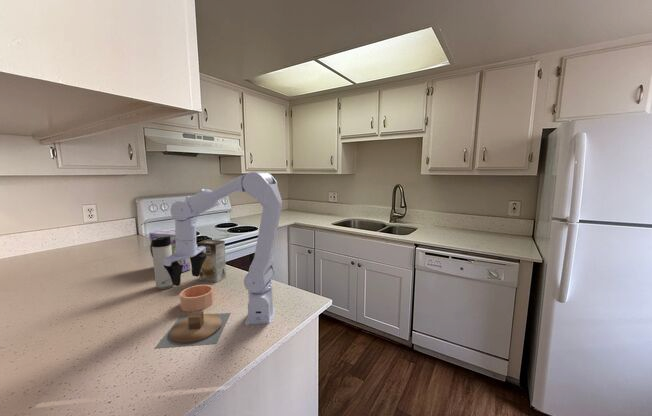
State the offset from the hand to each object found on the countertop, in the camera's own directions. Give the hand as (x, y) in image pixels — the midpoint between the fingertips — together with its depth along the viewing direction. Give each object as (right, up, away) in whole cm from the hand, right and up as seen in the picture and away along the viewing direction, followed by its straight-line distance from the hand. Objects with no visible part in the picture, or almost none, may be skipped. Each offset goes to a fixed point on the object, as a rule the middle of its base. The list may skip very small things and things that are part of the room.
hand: (186, 280), depth 84 cm
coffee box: (-3, -7, +27) cm, 28 cm away
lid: (+8, -11, -10) cm, 17 cm away
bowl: (+1, -10, +5) cm, 11 cm away
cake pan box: (-27, -6, +38) cm, 48 cm away
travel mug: (-18, -8, +19) cm, 28 cm away
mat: (+8, -12, -10) cm, 17 cm away
